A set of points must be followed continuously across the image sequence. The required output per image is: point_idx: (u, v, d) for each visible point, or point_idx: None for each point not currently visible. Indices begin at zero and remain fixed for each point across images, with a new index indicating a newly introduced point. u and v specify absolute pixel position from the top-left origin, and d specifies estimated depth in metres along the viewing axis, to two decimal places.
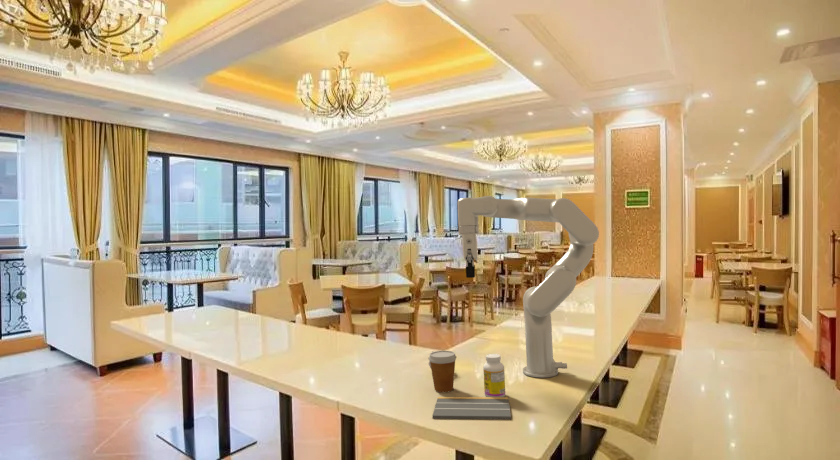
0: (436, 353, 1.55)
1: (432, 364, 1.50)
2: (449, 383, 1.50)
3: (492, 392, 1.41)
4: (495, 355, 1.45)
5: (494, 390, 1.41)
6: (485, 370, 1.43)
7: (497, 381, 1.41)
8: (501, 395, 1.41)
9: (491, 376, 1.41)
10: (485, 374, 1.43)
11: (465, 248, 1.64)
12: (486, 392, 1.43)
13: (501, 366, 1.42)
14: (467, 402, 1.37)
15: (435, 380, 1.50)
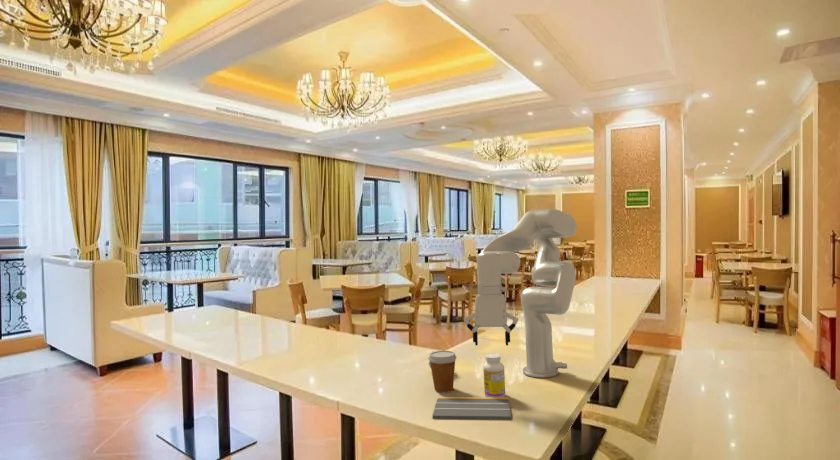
0: (436, 353, 1.55)
1: (432, 364, 1.50)
2: (449, 383, 1.50)
3: (492, 392, 1.41)
4: (495, 355, 1.45)
5: (494, 390, 1.41)
6: (485, 370, 1.43)
7: (497, 381, 1.41)
8: (501, 395, 1.41)
9: (491, 376, 1.41)
10: (485, 374, 1.43)
11: None
12: (486, 392, 1.43)
13: (501, 366, 1.42)
14: (467, 402, 1.37)
15: (435, 380, 1.50)
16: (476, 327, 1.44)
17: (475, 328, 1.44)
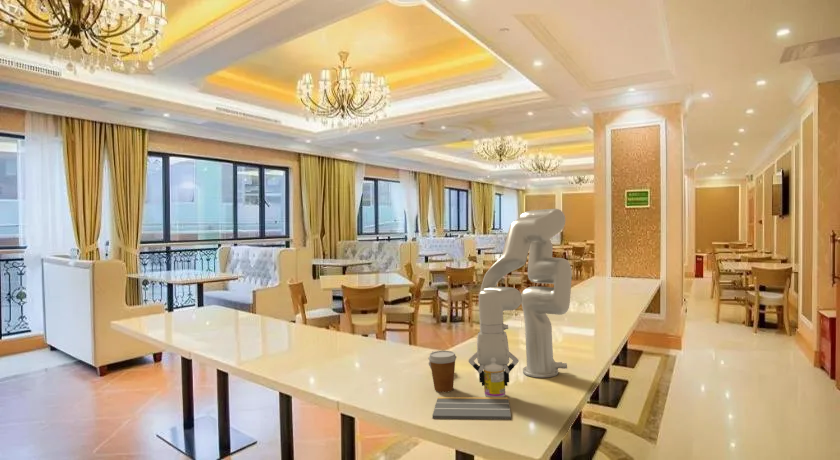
0: (436, 353, 1.55)
1: (432, 364, 1.50)
2: (449, 383, 1.50)
3: (492, 392, 1.41)
4: None
5: (494, 390, 1.41)
6: (485, 370, 1.43)
7: (497, 381, 1.41)
8: (501, 395, 1.41)
9: (491, 376, 1.41)
10: (485, 374, 1.43)
11: (508, 349, 1.42)
12: (486, 392, 1.43)
13: (501, 366, 1.42)
14: (467, 402, 1.37)
15: (435, 380, 1.50)
16: (482, 367, 1.44)
17: (481, 368, 1.44)
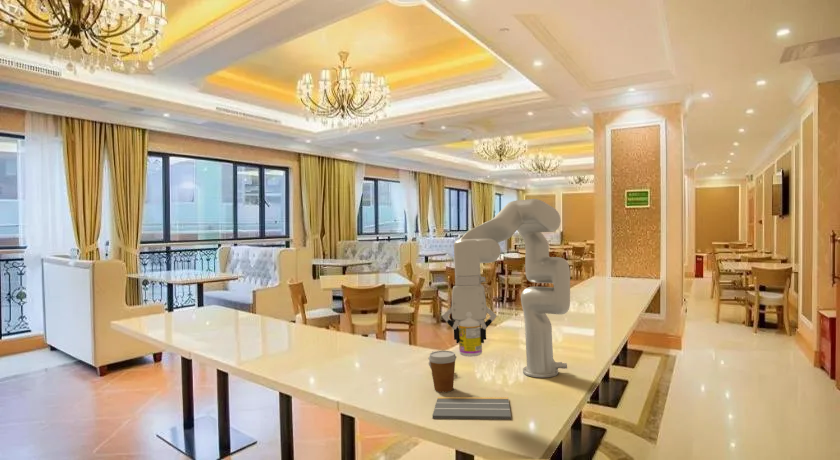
0: (436, 353, 1.55)
1: (432, 364, 1.50)
2: (449, 383, 1.50)
3: (467, 349, 1.30)
4: None
5: (470, 347, 1.29)
6: (460, 326, 1.31)
7: (472, 337, 1.29)
8: (477, 352, 1.30)
9: (466, 331, 1.30)
10: (460, 330, 1.31)
11: (485, 303, 1.31)
12: (461, 350, 1.31)
13: (477, 321, 1.31)
14: (467, 402, 1.37)
15: (435, 380, 1.50)
16: (457, 323, 1.32)
17: (456, 324, 1.32)
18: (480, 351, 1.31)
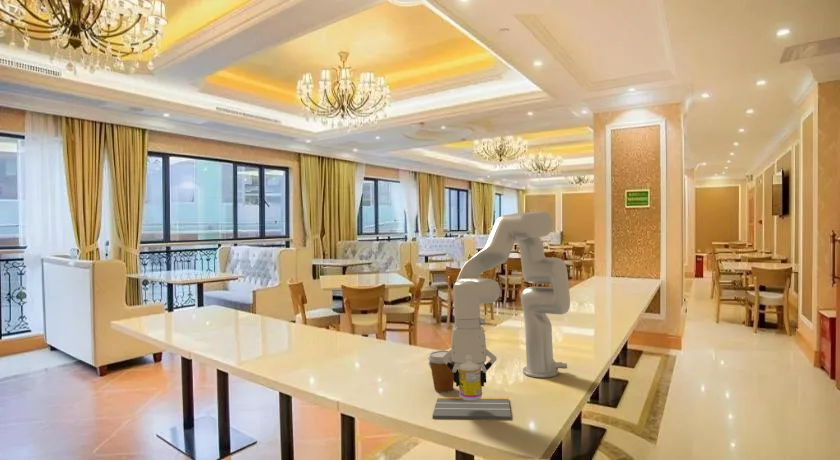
0: (436, 353, 1.55)
1: (432, 364, 1.50)
2: (449, 383, 1.50)
3: (467, 393, 1.28)
4: None
5: (469, 391, 1.28)
6: (460, 369, 1.30)
7: (472, 381, 1.28)
8: (477, 396, 1.28)
9: (466, 375, 1.28)
10: (460, 373, 1.30)
11: (485, 346, 1.30)
12: (461, 393, 1.30)
13: (477, 364, 1.29)
14: (467, 402, 1.37)
15: (435, 380, 1.50)
16: (457, 366, 1.31)
17: (456, 367, 1.31)
18: (480, 395, 1.29)
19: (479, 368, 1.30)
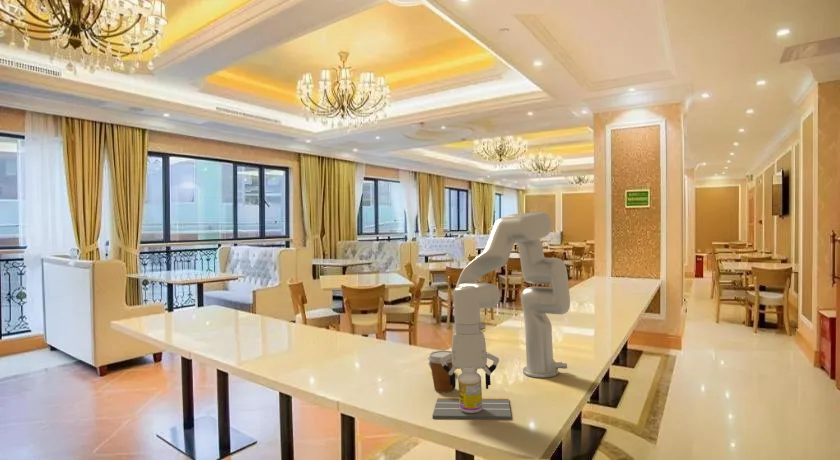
0: (436, 353, 1.55)
1: (432, 364, 1.50)
2: (449, 383, 1.50)
3: (467, 406, 1.28)
4: None
5: (470, 404, 1.28)
6: (460, 382, 1.30)
7: (472, 394, 1.28)
8: (477, 409, 1.29)
9: (466, 388, 1.28)
10: (460, 386, 1.30)
11: (485, 352, 1.30)
12: (461, 406, 1.30)
13: (477, 377, 1.29)
14: None
15: (435, 380, 1.50)
16: (453, 369, 1.31)
17: (452, 370, 1.31)
18: (480, 407, 1.30)
19: (479, 381, 1.30)
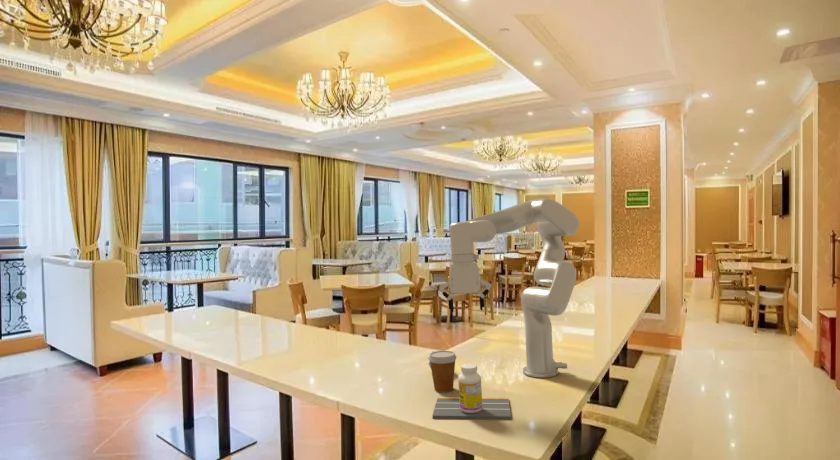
0: (436, 353, 1.55)
1: (432, 364, 1.50)
2: (449, 383, 1.50)
3: (467, 406, 1.28)
4: (471, 365, 1.31)
5: (470, 404, 1.28)
6: (460, 382, 1.30)
7: (472, 394, 1.28)
8: (477, 409, 1.29)
9: (466, 388, 1.28)
10: (460, 386, 1.30)
11: (479, 278, 1.48)
12: (461, 406, 1.30)
13: (477, 377, 1.29)
14: None
15: (435, 380, 1.50)
16: (451, 294, 1.49)
17: (450, 295, 1.49)
18: (480, 407, 1.30)
19: (479, 381, 1.29)
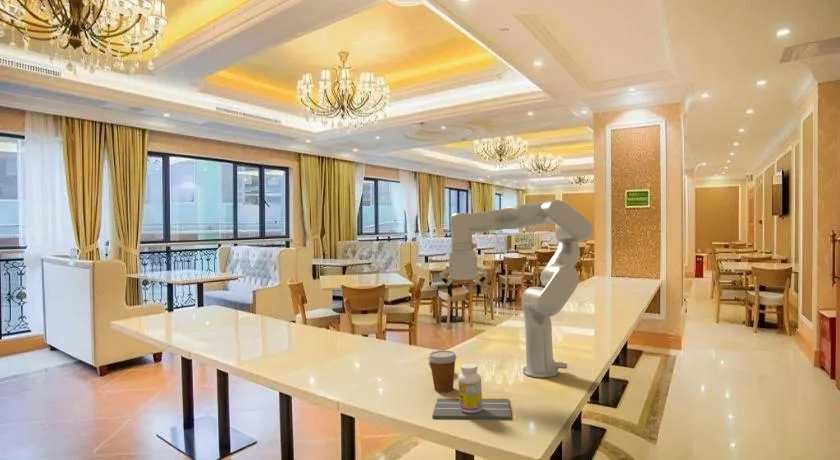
0: (436, 353, 1.55)
1: (432, 364, 1.50)
2: (449, 383, 1.50)
3: (467, 406, 1.28)
4: (471, 365, 1.31)
5: (470, 404, 1.28)
6: (460, 382, 1.30)
7: (472, 394, 1.28)
8: (477, 409, 1.29)
9: (466, 388, 1.28)
10: (460, 386, 1.30)
11: (476, 265, 1.58)
12: (461, 406, 1.30)
13: (477, 377, 1.29)
14: None
15: (435, 380, 1.50)
16: (450, 280, 1.59)
17: (449, 281, 1.59)
18: (480, 407, 1.30)
19: (479, 381, 1.29)
